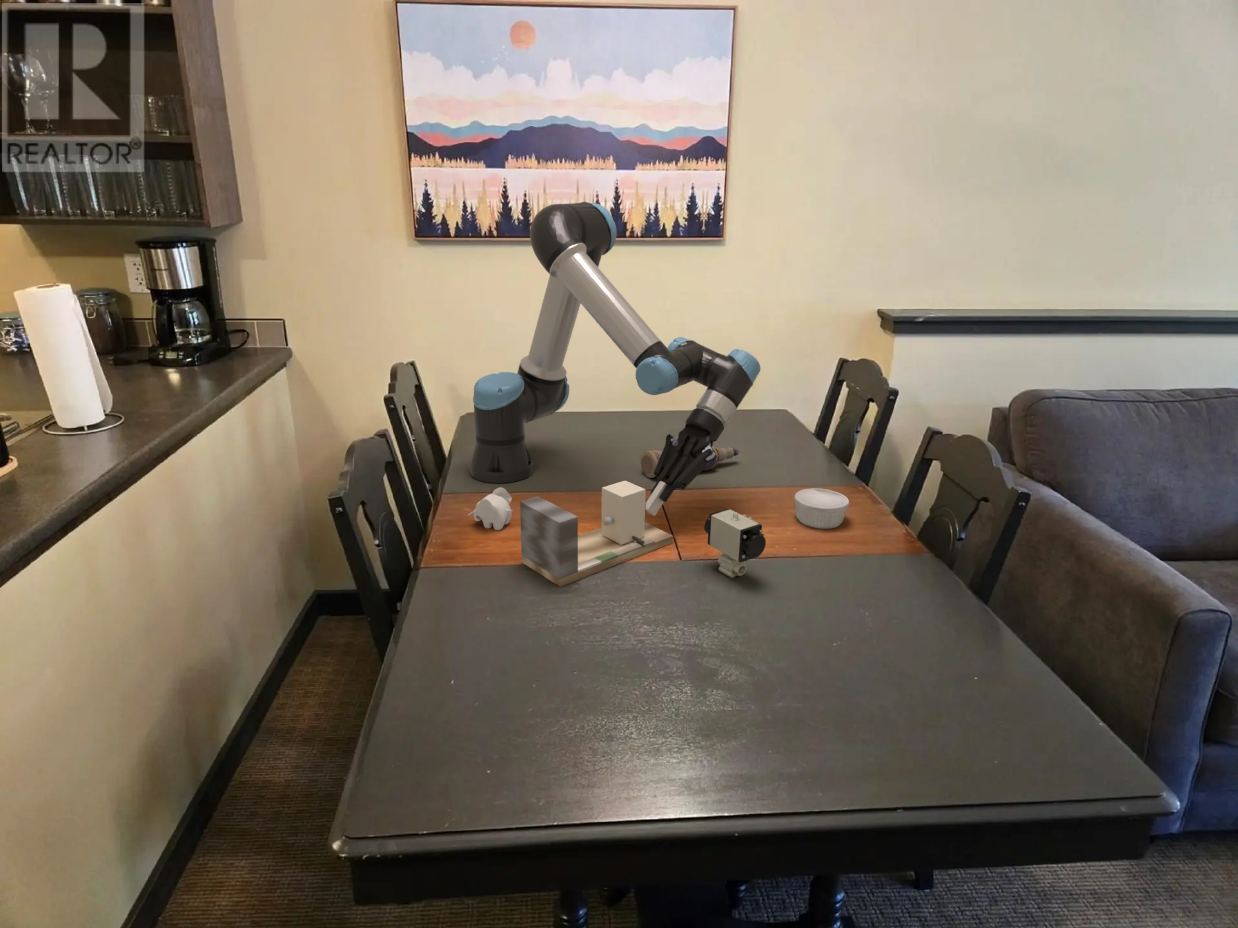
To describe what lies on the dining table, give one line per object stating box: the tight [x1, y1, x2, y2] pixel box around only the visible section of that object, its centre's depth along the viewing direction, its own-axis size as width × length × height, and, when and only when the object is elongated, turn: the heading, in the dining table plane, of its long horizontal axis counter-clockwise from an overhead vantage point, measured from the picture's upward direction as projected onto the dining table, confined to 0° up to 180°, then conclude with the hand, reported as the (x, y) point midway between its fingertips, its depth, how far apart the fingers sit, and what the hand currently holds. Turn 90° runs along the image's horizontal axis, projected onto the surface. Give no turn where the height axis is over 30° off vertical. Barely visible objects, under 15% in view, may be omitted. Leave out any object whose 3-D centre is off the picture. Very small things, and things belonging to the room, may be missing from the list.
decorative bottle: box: [640, 445, 740, 479], centre depth 198 cm, size 26×8×7 cm, turn 114°
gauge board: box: [519, 495, 674, 588], centre depth 154 cm, size 12×28×12 cm, turn 131°
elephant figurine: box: [467, 486, 513, 531], centre depth 167 cm, size 8×10×7 cm
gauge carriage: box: [601, 480, 647, 545], centre depth 157 cm, size 9×8×10 cm
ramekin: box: [794, 487, 850, 530], centre depth 172 cm, size 11×11×5 cm
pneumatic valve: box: [703, 508, 767, 579], centre depth 148 cm, size 6×12×12 cm, turn 35°
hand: (648, 511), depth 163 cm, fingers closed
